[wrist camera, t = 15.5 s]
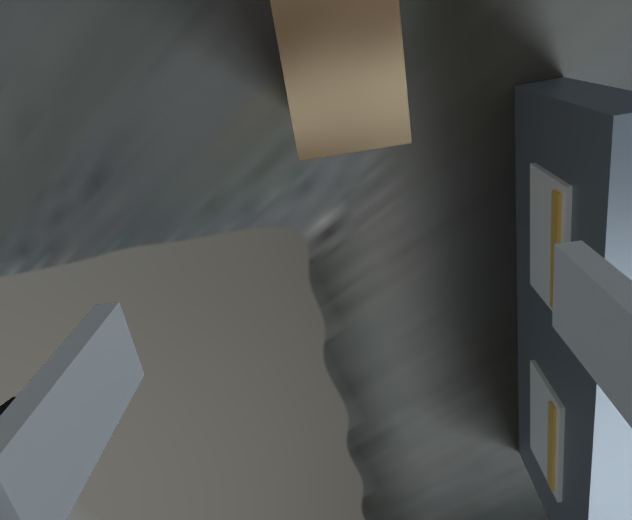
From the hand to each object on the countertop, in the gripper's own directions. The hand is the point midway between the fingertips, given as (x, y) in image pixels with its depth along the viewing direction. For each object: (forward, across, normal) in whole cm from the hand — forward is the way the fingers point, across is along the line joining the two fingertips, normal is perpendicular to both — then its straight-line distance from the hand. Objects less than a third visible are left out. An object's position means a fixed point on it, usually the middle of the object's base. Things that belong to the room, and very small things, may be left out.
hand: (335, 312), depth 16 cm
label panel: (+20, -14, +12) cm, 27 cm away
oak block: (+20, -1, -7) cm, 21 cm away
